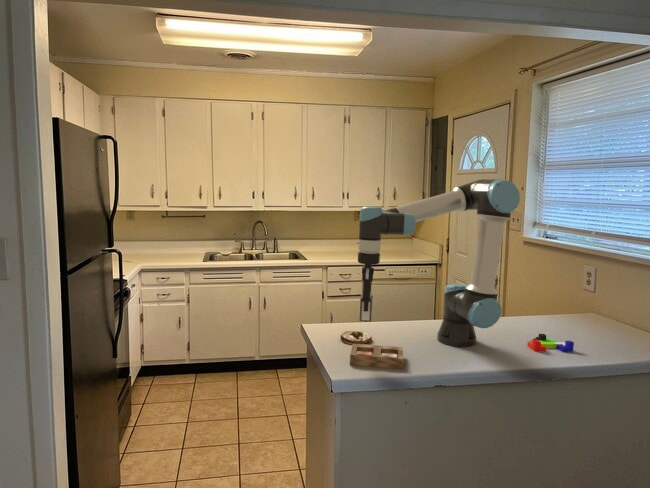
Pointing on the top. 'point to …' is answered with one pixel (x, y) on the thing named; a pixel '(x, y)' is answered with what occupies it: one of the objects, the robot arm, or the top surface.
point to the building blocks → (549, 344)
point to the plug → (370, 308)
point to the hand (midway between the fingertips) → (365, 317)
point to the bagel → (356, 337)
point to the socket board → (377, 356)
